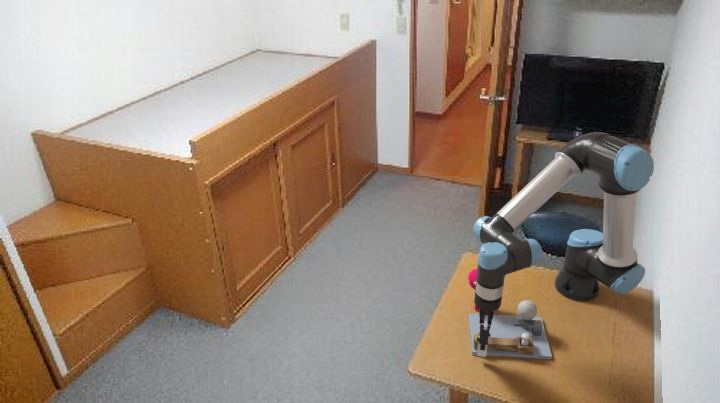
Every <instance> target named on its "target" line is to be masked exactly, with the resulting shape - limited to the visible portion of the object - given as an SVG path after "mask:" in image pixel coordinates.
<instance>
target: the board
mask: <svg viewBox="0 0 720 403" xmlns="http://www.w3.org/2000/svg"><path fill="white" fill-rule="evenodd" d="M467 317H468V318H467V319H468V327H469V328H468V329H469V338H470V345H471V346H470V347H471V354H472V356H473V355H475V356H477V350H478V349H474V333H476V334H479V332H480V323H479V322H480V317H479V313H468V316H467ZM513 319H521V318H520V316H519V315H504V314H503V315H502V314H493V319H492V324H491V326H490V327H491V328H490V331H489V333H491V334H490V337H495V338H513V339H516V337H522V343H521V345H520V346H529V345H528V343H529V340H530V337H531V338H532V341H533V345H534V353H533V354H518V353H517V351H503V350H487V353H486V357H487V356H488V357H489V356H490V357H504V358H505V357H506V358H525V359H540V360H541V359H542V360H552V358H553V355H552V352H551V348H550V344H549V340H548V336H547V334H546V330H545V326H544V322H543V319H542V317H541V316H535V317H534V318H533V319H532V320H541V322H542V325H543V326H542V332H541V336H533V334H532V327H529V329H523V328H521V327H515V326H514V323H513Z"/></svg>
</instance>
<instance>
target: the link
mask: <svg viewBox="0 0 720 403" xmlns="http://www.w3.org/2000/svg"><path fill="white" fill-rule="evenodd" d="M479 336H480V334H476V333H474V349H478V341H477V338H479ZM521 343H522V337H516V339H513V338H495V337H489V338H488V345H487V350H503V351H517V353H518V354H533V353H534V345H533V341H532V338H531V337H530V340H529V343H528V345H529V346H520V345H521Z"/></svg>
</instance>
